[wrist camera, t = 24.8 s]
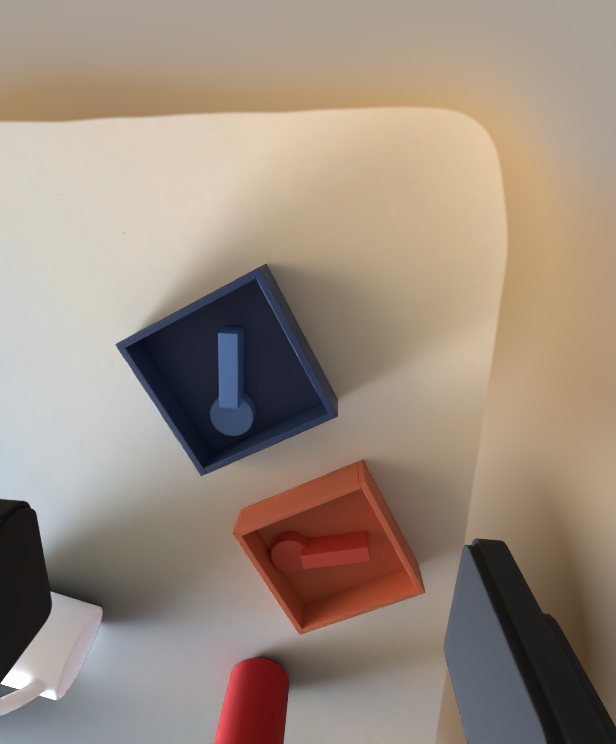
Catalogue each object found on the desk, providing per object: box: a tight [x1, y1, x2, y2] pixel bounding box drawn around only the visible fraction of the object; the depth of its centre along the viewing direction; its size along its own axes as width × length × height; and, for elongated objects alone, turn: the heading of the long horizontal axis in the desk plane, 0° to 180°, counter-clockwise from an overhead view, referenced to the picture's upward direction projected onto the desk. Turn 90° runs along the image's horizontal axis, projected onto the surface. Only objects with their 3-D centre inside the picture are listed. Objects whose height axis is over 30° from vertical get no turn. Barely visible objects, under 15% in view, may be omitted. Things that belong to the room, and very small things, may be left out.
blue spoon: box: [210, 326, 256, 436], centre depth 37 cm, size 10×4×2 cm, turn 177°
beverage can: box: [214, 658, 289, 744], centre depth 44 cm, size 7×7×12 cm
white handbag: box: [0, 591, 103, 716], centre depth 43 cm, size 8×10×12 cm
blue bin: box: [115, 264, 338, 476], centre depth 36 cm, size 13×13×4 cm
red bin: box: [233, 460, 425, 635], centre depth 42 cm, size 13×13×4 cm
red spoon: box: [271, 530, 371, 573], centre depth 42 cm, size 10×4×2 cm, turn 102°
